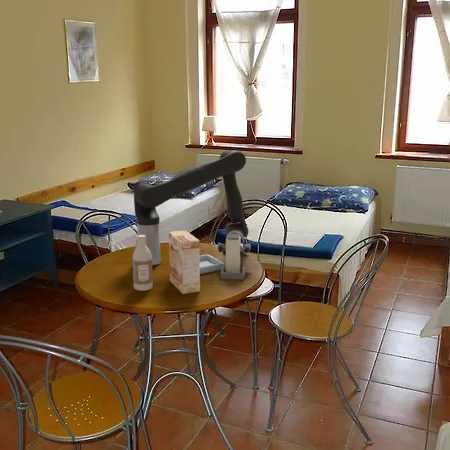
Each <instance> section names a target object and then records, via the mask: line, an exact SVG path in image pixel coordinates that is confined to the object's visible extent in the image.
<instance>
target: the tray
mask: <svg viewBox="0 0 450 450" xmlns="http://www.w3.org/2000/svg"><path fill="white" fill-rule="evenodd" d="M222 266H225V267H226V262H224V261H222V260H220V259H218V258H217V257H215V256H212V255H210V254H202V255H200V275H203V274H209V273H212V272H213V273H214V272H218V271H221V268H222Z"/></svg>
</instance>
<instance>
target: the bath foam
mask: <svg viewBox="0 0 450 450" xmlns="http://www.w3.org/2000/svg"><path fill="white" fill-rule="evenodd" d="M137 240H138V246H137V248H136V247H135V249H134V251H133V254H132V278H133V289H134V290H136V291H138V292H139V291H140V292H147V291H149V290H151V289H153V286H154V285H153V283H154V282H153V265H152V255H151V252H150V250H149V249H148V247H147V246H146V236H145V235H137Z"/></svg>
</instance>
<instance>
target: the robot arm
mask: <svg viewBox="0 0 450 450" xmlns="http://www.w3.org/2000/svg"><path fill="white" fill-rule="evenodd" d="M246 163H247V158H246V155H245V154H244V153H243V152H242V151H240V150H234V149H233V150H224V151H223V152H221V154H220V156H219V159H216V160H213V161H209V162H208V161H207V162H204V163H198V164H194V165H192V166H190V167H187V168H184V169H183V170H181V171H179V172H178V173H177V174H175V175H174V176H173V177H172V178H171V179H169V180H167V181H165V182H162V183H159V184H157V185H152V184H149V183H140V184H139V185H137V186H136V188H135V190H134V192H133V205H134V215H135V218H136V227H137V228H136V230H137V232H136V233H137V236H138V235H145V236H146V246H147V247H148V249H149V250H150V252H151V255H152V266H156V265H158V264H159V265H160V264H161V232H160V230H161V229H160V228H161V227H160V216H159V214H158V212H157V209H156V207H159V206H161V205H162V204H164V203H166V202H167V201H169V200H171V199H173V198H175V197H178V196H180V195H184V194H186V193H188V192H190V191H194V190H195V189H196V190H197V189H198V188H200V187H202V186H204V185H206V184H209V183H211V182H213V181H215V180H217V179H219V178H221V177H222V181H223V185H224V191H225V196H226V209H227V210H226V211H227V217H228V218H229V219H234V220H237V221H238V222H234V223H233V222H231V223H228V224H226V225H225V227H224V234H225V237H226V238H227V236H228V234H240V236H241V244H240V257H241V256H244V254H248V253H249V252H250V251H251V247H252V246H251V245H252V244H251V243H249V242H248V243H246V244H245V239H246V238H247V237H248V236H249V228H248V225H247V222H246V220H245V216H244V209H243V208H244V207H243V197H242V194H241V191H240V189H239V187H238V183H237V179H236V178H237V177H236V173H238V172H240V171H241V170H242V169H243V168H244V167H245V165H246ZM137 246H138V239H137V240H135V249H136V248H137ZM217 250H218V253H222V255H223V256H226V241H225V242H224V243H221V242H220V241H219V242H217Z"/></svg>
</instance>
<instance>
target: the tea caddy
mask: <svg viewBox="0 0 450 450" xmlns="http://www.w3.org/2000/svg"><path fill="white" fill-rule="evenodd" d="M225 242H226V255H225V272H238V273H241V256H240V244H241V236H240V234H228V236H227V237H226V238H225Z"/></svg>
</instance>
